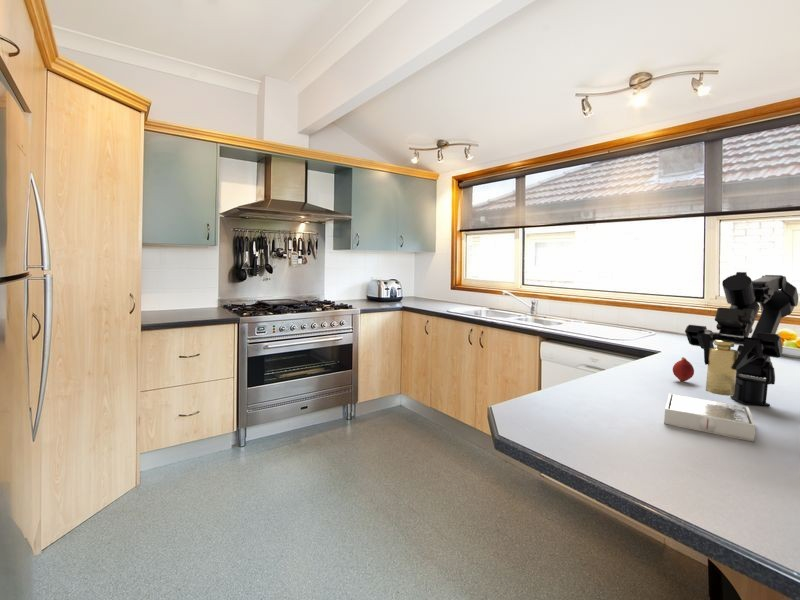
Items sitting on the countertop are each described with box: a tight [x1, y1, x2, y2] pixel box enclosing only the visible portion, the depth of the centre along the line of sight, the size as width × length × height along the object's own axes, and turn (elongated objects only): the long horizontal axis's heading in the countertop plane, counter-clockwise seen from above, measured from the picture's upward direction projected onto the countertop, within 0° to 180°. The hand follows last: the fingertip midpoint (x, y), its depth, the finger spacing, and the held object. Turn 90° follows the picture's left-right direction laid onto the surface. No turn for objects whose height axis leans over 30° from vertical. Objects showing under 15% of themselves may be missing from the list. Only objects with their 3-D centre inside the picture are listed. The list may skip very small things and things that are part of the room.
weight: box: [705, 340, 738, 397], centre depth 104 cm, size 6×6×12 cm
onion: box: [672, 356, 695, 383], centre depth 139 cm, size 6×6×8 cm
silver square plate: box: [670, 394, 749, 424], centre depth 100 cm, size 14×14×1 cm
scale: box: [663, 393, 756, 442], centre depth 100 cm, size 16×16×4 cm
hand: (720, 366), depth 103 cm, fingers closed on weight, 6 cm apart
